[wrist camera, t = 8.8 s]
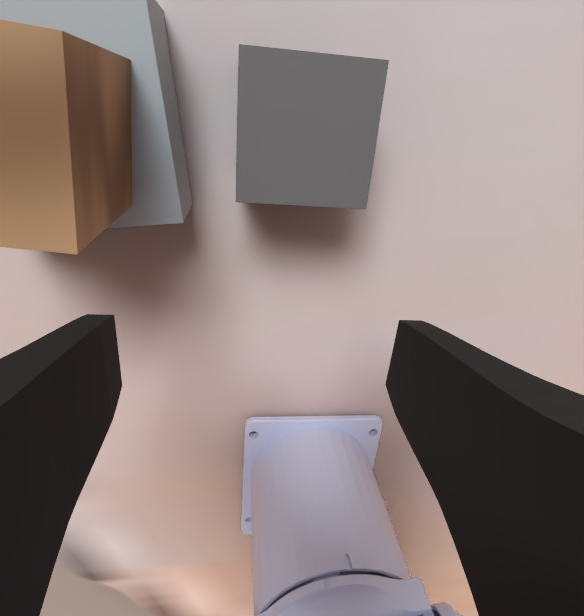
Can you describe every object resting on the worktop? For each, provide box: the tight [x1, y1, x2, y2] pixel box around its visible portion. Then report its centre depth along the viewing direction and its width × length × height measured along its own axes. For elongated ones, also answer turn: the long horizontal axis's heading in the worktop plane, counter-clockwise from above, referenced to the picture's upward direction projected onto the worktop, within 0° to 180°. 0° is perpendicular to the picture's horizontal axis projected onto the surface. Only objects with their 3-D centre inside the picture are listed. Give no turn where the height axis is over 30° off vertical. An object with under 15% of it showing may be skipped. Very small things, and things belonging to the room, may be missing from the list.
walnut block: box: [0, 19, 132, 255], centre depth 11 cm, size 4×4×6 cm
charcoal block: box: [236, 44, 389, 209], centre depth 15 cm, size 4×4×4 cm
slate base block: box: [0, 0, 193, 229], centre depth 15 cm, size 7×7×4 cm
